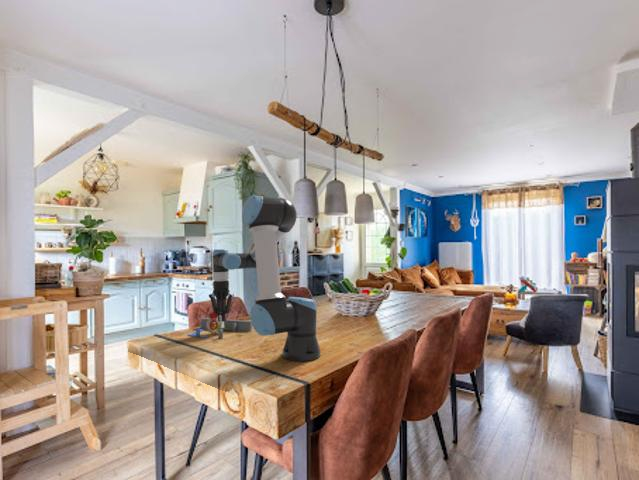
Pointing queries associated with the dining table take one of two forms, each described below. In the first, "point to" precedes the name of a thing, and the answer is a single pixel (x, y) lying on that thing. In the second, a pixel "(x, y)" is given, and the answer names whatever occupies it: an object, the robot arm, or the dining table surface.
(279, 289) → the robot arm
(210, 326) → the bird rattle
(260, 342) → the dining table surface
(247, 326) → the duct rack
